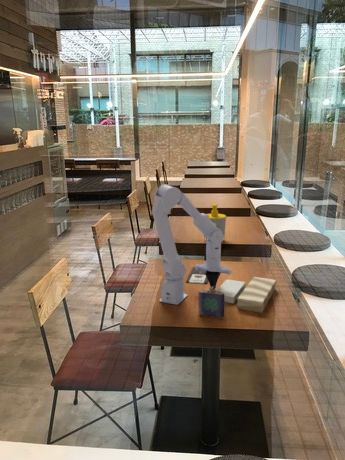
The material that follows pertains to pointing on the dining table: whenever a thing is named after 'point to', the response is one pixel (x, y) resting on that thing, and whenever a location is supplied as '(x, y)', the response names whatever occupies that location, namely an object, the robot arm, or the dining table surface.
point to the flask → (211, 303)
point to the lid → (231, 290)
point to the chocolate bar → (197, 276)
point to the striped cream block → (256, 294)
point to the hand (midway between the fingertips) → (213, 288)
